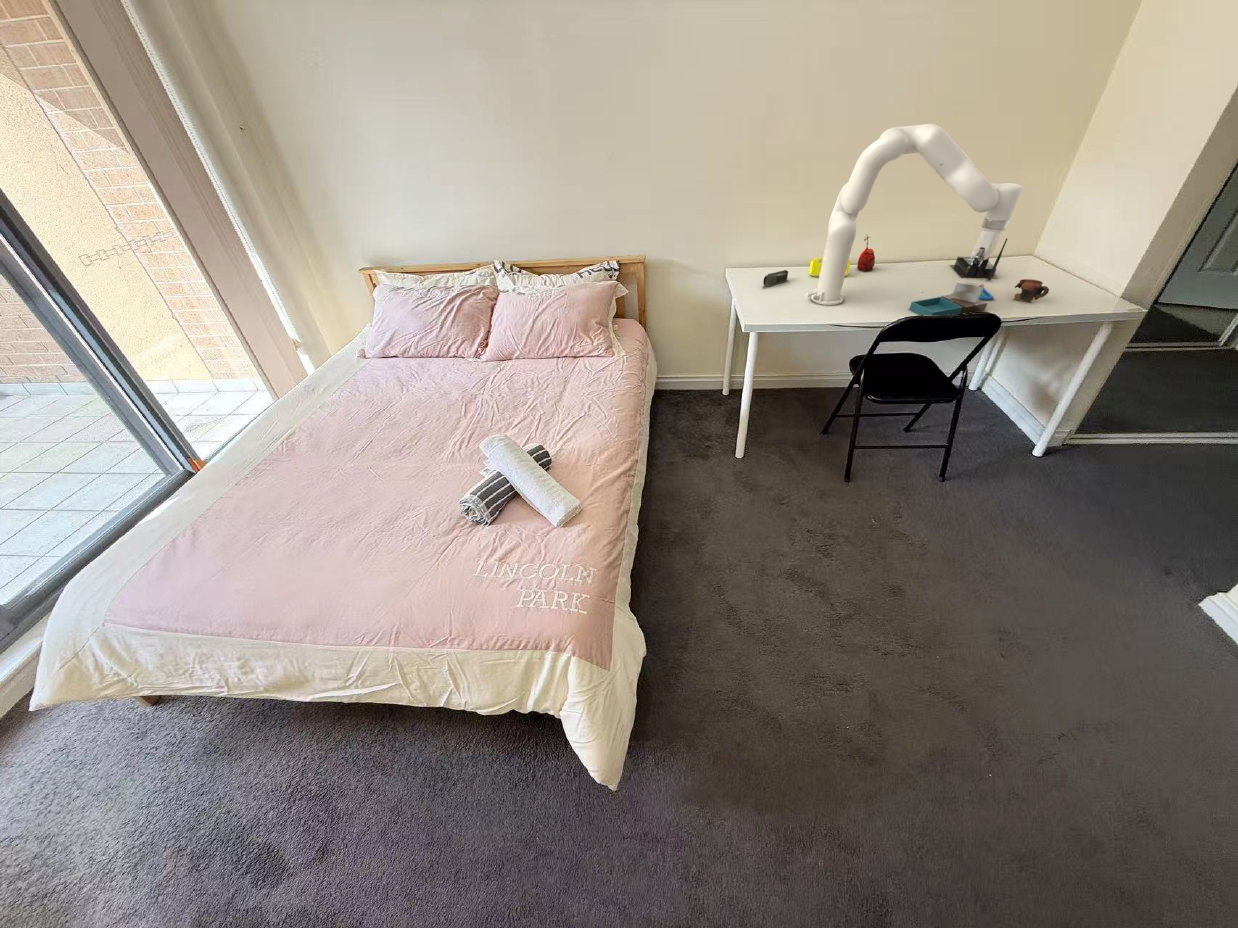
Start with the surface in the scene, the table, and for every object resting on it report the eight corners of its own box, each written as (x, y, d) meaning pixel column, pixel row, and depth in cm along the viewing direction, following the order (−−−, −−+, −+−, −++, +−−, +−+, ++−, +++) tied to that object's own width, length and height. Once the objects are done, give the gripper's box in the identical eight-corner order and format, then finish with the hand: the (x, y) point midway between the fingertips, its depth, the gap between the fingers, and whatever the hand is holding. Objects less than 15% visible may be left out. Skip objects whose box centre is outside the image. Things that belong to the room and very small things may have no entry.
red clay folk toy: (867, 273, 223) (876, 238, 214) (852, 270, 227) (861, 235, 218) (875, 269, 227) (884, 234, 217) (860, 265, 231) (869, 231, 221)
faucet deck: (960, 315, 185) (963, 307, 183) (935, 303, 195) (938, 295, 193) (988, 310, 187) (991, 302, 185) (962, 298, 197) (965, 290, 195)
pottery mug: (1004, 299, 195) (1013, 277, 193) (1015, 305, 200) (1024, 284, 198) (1039, 300, 185) (1049, 278, 183) (1049, 307, 190) (1059, 285, 188)
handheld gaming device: (980, 283, 204) (995, 297, 193) (979, 286, 205) (993, 300, 194) (958, 283, 206) (971, 297, 194) (957, 286, 206) (970, 299, 195)
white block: (951, 297, 191) (957, 281, 187) (953, 295, 192) (959, 279, 188) (975, 303, 186) (982, 286, 182) (977, 300, 187) (984, 284, 183)
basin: (930, 320, 184) (932, 312, 182) (909, 309, 192) (911, 301, 190) (959, 314, 186) (962, 307, 184) (937, 304, 194) (940, 296, 192)
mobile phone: (785, 268, 220) (761, 275, 214) (790, 270, 218) (766, 277, 212) (783, 279, 224) (759, 287, 217) (788, 281, 222) (764, 288, 215)
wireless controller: (950, 265, 225) (965, 225, 214) (984, 265, 223) (1000, 225, 212) (964, 281, 210) (980, 238, 199) (1000, 281, 208) (1019, 238, 197)
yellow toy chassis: (810, 277, 223) (814, 258, 218) (808, 273, 227) (811, 254, 222) (847, 277, 221) (851, 258, 215) (844, 273, 225) (848, 254, 220)
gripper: (990, 217, 178) (971, 265, 189) (975, 228, 169) (956, 278, 180) (1014, 219, 174) (994, 268, 185) (999, 231, 165) (979, 282, 176)
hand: (975, 273), depth 183 cm, fingers open, 9 cm apart
